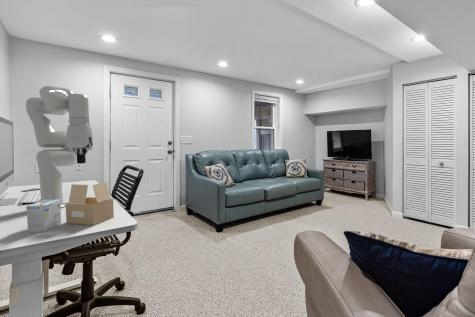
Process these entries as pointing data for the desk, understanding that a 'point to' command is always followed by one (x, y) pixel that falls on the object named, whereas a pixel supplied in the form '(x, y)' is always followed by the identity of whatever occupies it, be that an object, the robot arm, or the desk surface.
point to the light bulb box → (43, 215)
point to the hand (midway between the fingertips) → (81, 163)
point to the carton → (89, 212)
